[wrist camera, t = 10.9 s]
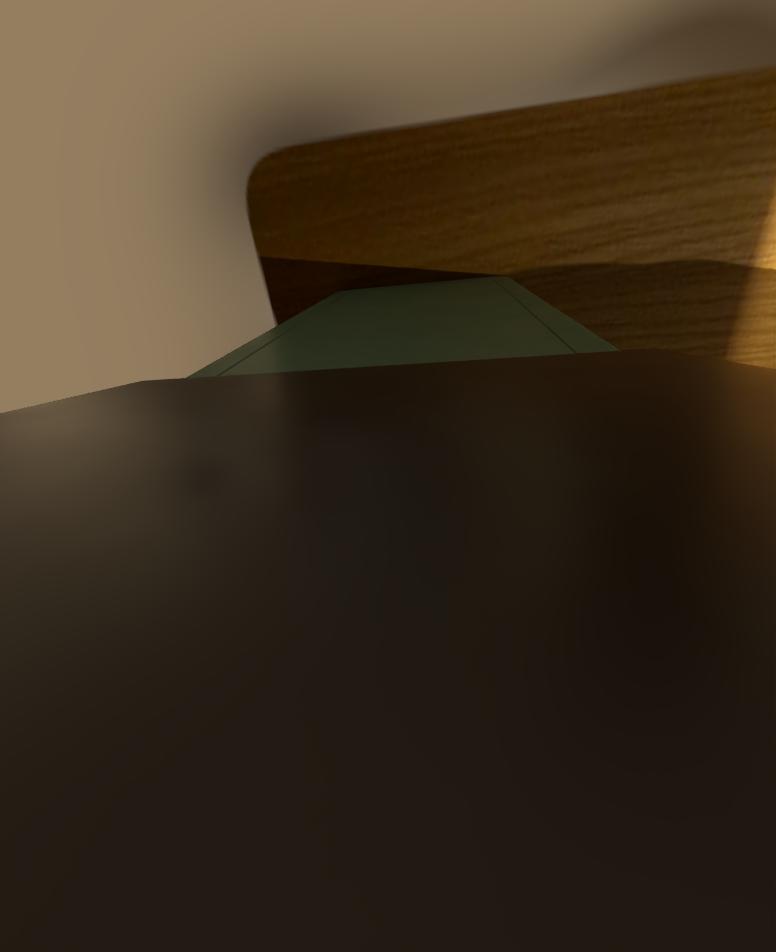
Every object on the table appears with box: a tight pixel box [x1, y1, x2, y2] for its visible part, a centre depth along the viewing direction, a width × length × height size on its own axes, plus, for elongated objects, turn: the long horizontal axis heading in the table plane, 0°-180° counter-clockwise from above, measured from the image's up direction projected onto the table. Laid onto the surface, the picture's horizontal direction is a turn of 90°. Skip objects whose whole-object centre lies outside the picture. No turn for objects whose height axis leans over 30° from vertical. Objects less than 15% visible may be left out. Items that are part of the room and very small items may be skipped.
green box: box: [187, 276, 620, 378], centre depth 19 cm, size 10×10×19 cm
